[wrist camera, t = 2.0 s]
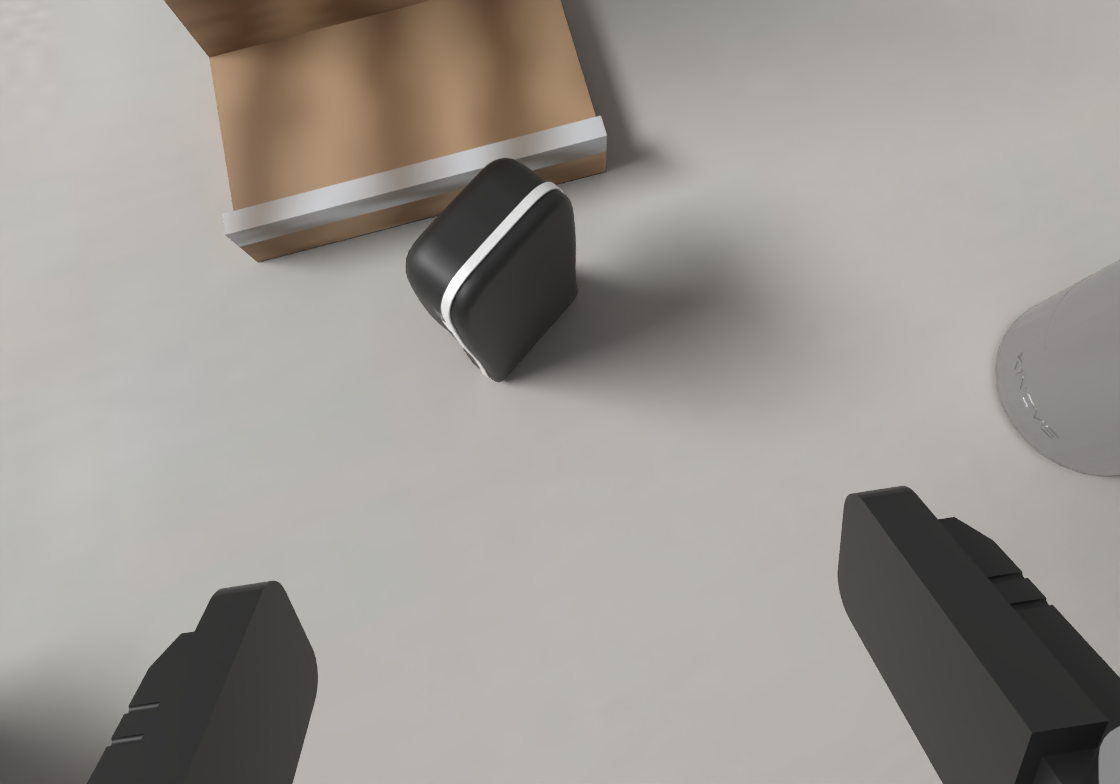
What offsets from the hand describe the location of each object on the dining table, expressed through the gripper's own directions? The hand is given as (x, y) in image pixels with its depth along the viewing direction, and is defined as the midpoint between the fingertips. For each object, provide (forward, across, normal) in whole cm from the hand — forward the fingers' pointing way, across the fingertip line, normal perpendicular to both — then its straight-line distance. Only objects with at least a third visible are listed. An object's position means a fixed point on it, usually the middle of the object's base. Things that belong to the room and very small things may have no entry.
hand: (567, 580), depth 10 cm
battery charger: (+27, +2, +7) cm, 28 cm away
